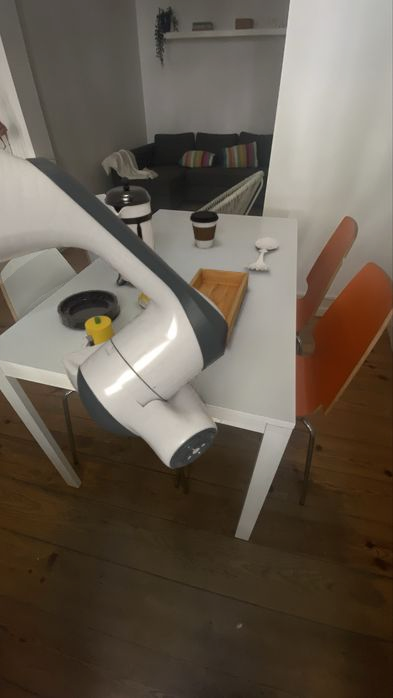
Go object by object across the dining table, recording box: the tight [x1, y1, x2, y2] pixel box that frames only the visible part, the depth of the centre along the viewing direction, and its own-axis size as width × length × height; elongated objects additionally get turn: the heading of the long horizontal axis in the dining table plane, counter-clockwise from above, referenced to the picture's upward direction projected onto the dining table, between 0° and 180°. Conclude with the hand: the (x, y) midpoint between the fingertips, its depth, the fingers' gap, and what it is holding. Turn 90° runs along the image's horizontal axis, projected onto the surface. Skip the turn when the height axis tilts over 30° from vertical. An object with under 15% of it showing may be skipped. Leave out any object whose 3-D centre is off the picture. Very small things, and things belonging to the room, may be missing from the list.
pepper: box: [84, 316, 115, 345], centre depth 71 cm, size 6×6×9 cm
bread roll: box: [138, 292, 148, 309], centre depth 91 cm, size 8×9×4 cm
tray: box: [188, 267, 250, 345], centre depth 86 cm, size 31×15×6 cm, turn 164°
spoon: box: [243, 236, 280, 272], centre depth 115 cm, size 9×32×4 cm, turn 163°
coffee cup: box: [189, 210, 219, 249], centre depth 123 cm, size 11×11×12 cm
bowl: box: [56, 289, 120, 329], centre depth 86 cm, size 16×16×4 cm
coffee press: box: [103, 176, 156, 286], centre depth 96 cm, size 17×16×30 cm
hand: (113, 331), depth 58 cm, fingers open, 8 cm apart
